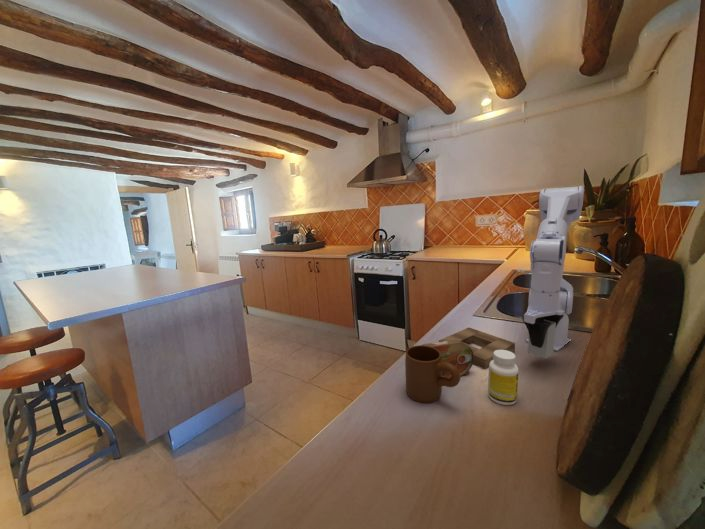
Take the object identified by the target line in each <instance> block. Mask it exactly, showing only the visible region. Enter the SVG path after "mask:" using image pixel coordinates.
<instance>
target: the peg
mask: <svg viewBox="0 0 705 529" xmlns="http://www.w3.org/2000/svg"><path fill="white" fill-rule="evenodd" d="M544 321H547V322H551V323H552V324H551V325H550V326H549V328H548V330H547V332H546V335H545V339H544V343H543V346H542V347H541V348H539V347H536V346H533V345H531V341H530V336H529V335H528V338H529V342H527V344H528V347H527V353H528V354H530V355H531V354H532V355H534V356H536V357H540V358H541V359H542V358H543V359H548V358H549V357H550V356H552V355H553V354H554V351H555V350H554V339H555V327H556V322H552V321H548V320H544Z"/></svg>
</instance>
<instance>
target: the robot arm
mask: <svg viewBox="0 0 705 529" xmlns="http://www.w3.org/2000/svg"><path fill="white" fill-rule="evenodd" d="M584 193H585V187H584V186H583V185H579V186H570V187H567V186H566V187H554V188H542V189H541V190H540V192H539V195H538V196H539V197H538V208H539V216H540V219H541V222H540V224H539V227H538V230H537V234H536V238H535V240H532V241H531V243H530V246H529V248H530V249H529V260H530V271H531V279H530V289H529V292H528V303H527V304H528V306H527V310H526V312H525V313H524V314H523V316H522V322H523V324H524V325H525V327H526V329H527V333H528V338H526V340H525V341H526V342H527V343H528V342H529V336H530V341H531V345H533V346H536V347H539V348H541V347H542V346H543V343H544V339H545V335H546V332H547V330H548V328H549V326H550V325H551V324H552V323H551V322H547V321H544V320H548V321H552V322H556V327H555V339H554V351H559V350H561V349H562V348H564V347H565V346H566V345H568V344H569V343H570V342H572V339H571V338H568V334H569V323H570V320H569V316H568V315H570V314H572V310H573V302H574V287H573V285H572V283H571V284H570V282H568V281H567V280H566V279H564V278H563V276H564V266H565V261H566V255H567V254H566V253H567V242H568V234H569V230H570V227H571V224H572V223H574V222H576V221H579V220H580V217H581V215H582V209H583V205H584V204H583V203H584V195H585V194H584ZM569 341H570V342H569ZM568 342H569V343H568ZM567 343H568V344H567ZM565 344H566V345H565ZM564 345H565V346H564Z"/></svg>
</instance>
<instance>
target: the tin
mask: <svg viewBox="0 0 705 529" xmlns="http://www.w3.org/2000/svg"><path fill="white" fill-rule="evenodd" d="M422 345H424V346H430V347H433V348H435V349H437V350H439V351H440V353H441V359H442V363H450V364H452V365H454V366H455V367H456V368H457V369H458V370H459V373H460V377H462V376H464V375H466V374H467V373H468V372H469V371H470V370H471V368H472V367H473V365H474V364H473V361H474V354H473V351H472V349H471V348H470V347H469V346H468V345H466V344H464V343H463V342H461V341H458V340H449V341H442V342H439V341H435V342H430V343H428V342H427V343H424V344H422ZM442 377H446V378H449V379H450V378H451V377H452V374H451V373H450V372H449V371H442Z"/></svg>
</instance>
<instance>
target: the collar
mask: <svg viewBox="0 0 705 529" xmlns="http://www.w3.org/2000/svg"><path fill="white" fill-rule="evenodd" d="M449 340H458V341H461V342H463V343H464V344H466V345H468V346H469V347H470V348H471V349H472V351H473V354H474V361H473V365H474V366H476V367H478V368H481V369H484V370H487V369H489V363H490V362H491V361H492V360H493V353H494V351H495V350H507V351H510V352H512V353H515V352H516V350H515V349H516V343H515V342H513V341H510V340H507V339H505V338H501V337H499V336H496V335H493V334H489V333H486V332H483V331H481V330H478V329H475V328H473V327H466V328H465V329H464V328H463V329H462V330H459V331H457V332H455V333H453V334H450V335H448V336H446V337H444V338H442V339H441V338H440V339H439V340H438V342H442V341H449ZM471 344H473V345H476V346H479V347H481V348H478V347H476V346H473V345H471Z"/></svg>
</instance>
